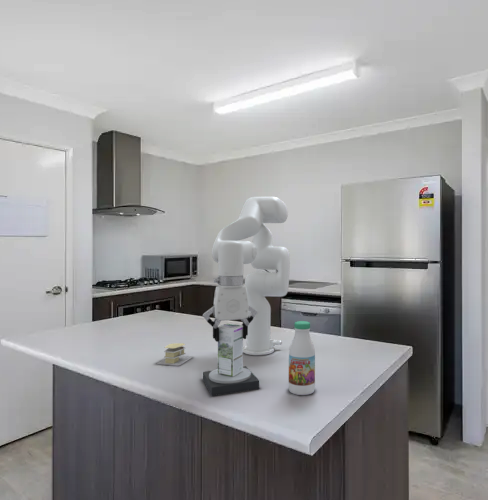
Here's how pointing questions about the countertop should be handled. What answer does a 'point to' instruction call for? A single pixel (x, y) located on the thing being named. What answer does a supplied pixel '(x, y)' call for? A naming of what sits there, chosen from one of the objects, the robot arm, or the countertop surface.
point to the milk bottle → (302, 361)
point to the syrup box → (230, 349)
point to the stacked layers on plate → (174, 355)
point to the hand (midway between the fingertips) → (230, 338)
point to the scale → (230, 382)
